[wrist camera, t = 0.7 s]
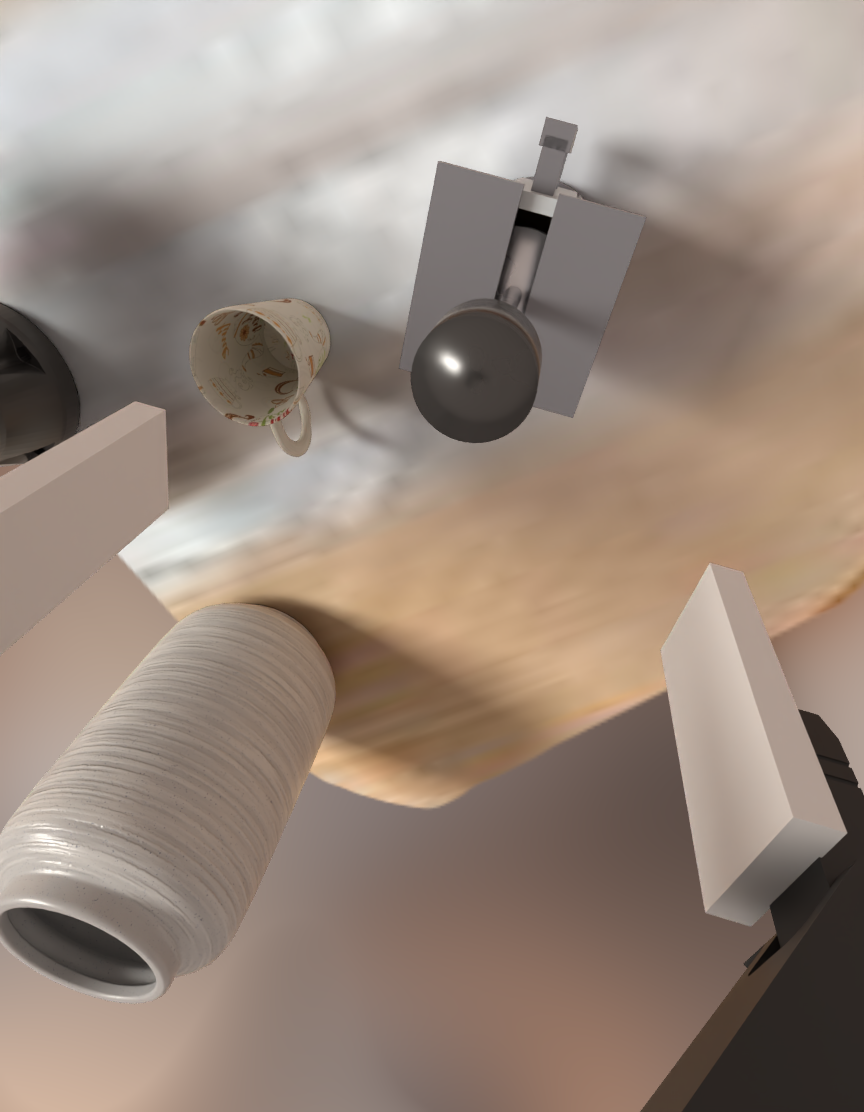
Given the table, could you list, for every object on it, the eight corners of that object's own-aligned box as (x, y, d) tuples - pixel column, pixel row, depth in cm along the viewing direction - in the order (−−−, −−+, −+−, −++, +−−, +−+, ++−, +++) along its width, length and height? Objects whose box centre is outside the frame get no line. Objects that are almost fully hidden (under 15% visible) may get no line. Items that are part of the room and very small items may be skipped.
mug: (326, 271, 49) (275, 295, 41) (371, 423, 55) (334, 470, 47) (234, 294, 52) (168, 321, 43) (287, 437, 58) (238, 485, 50)
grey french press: (443, 315, 49) (398, 368, 37) (488, 108, 42) (451, 90, 30) (574, 351, 49) (572, 417, 37) (643, 149, 41) (671, 148, 29)
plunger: (443, 336, 38) (364, 444, 24) (471, 210, 34) (396, 251, 20) (553, 367, 37) (538, 494, 23) (593, 244, 34) (605, 308, 20)
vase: (174, 564, 69) (-99, 842, 41) (353, 601, 67) (192, 920, 39) (194, 695, 80) (-10, 983, 52) (347, 730, 78) (220, 1050, 50)
